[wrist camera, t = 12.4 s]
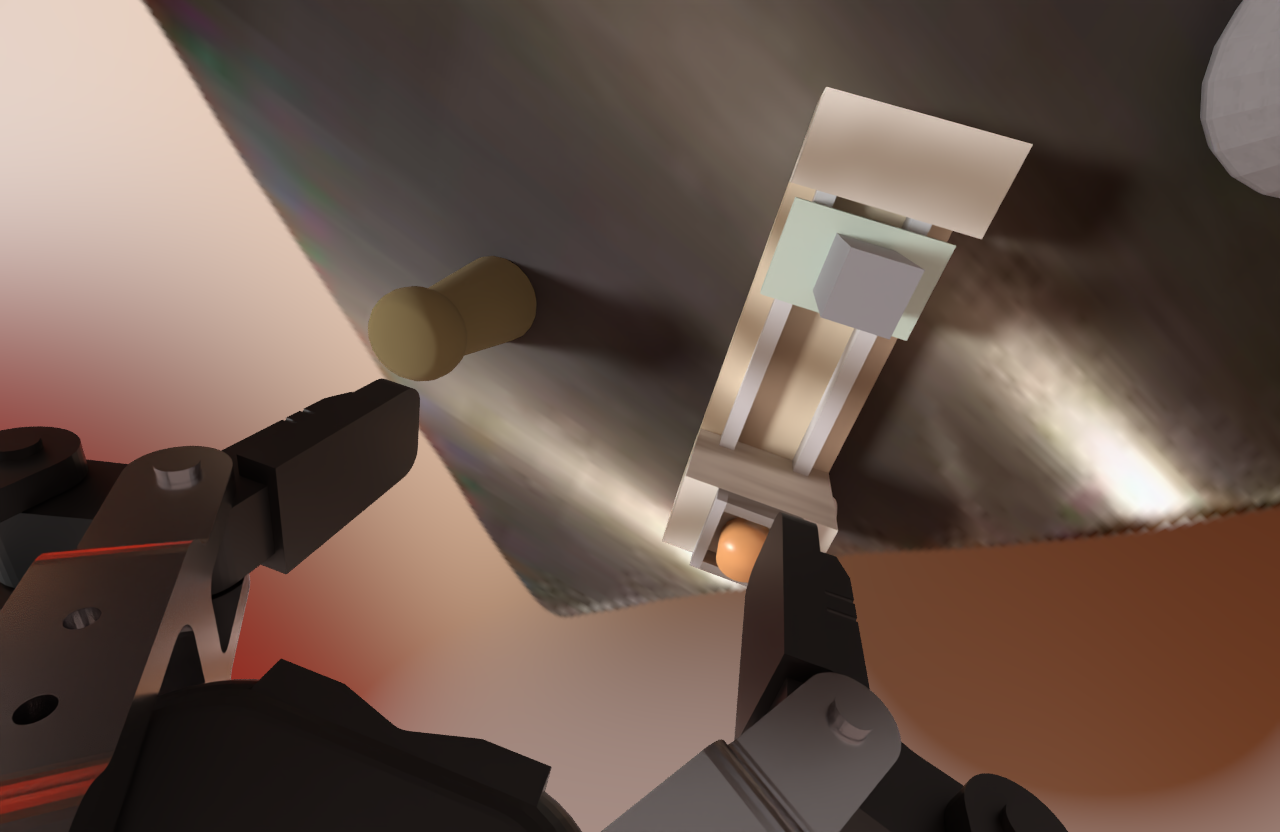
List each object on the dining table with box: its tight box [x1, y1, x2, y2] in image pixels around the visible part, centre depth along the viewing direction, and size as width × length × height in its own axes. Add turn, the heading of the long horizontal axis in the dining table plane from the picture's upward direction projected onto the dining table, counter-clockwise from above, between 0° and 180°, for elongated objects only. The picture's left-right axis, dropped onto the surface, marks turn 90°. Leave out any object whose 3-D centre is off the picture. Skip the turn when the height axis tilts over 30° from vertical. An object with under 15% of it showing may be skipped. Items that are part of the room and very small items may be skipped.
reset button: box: [716, 517, 769, 583], centre depth 30 cm, size 3×3×2 cm
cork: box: [368, 256, 537, 381], centre depth 33 cm, size 6×6×11 cm
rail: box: [662, 87, 1033, 586], centre depth 30 cm, size 25×10×9 cm, turn 164°
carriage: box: [760, 197, 956, 341], centre depth 25 cm, size 5×8×8 cm, turn 74°
